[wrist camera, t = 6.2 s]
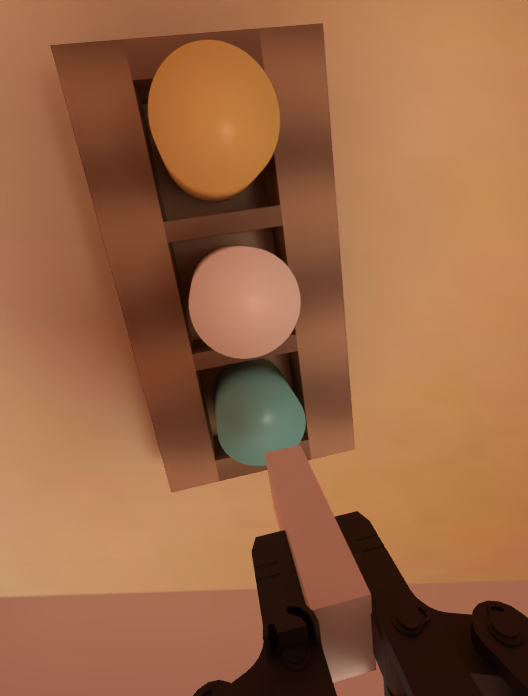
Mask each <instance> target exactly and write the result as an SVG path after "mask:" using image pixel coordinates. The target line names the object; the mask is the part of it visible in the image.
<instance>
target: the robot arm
mask: <svg viewBox="0 0 528 696" xmlns="http://www.w3.org/2000/svg"><path fill="white" fill-rule="evenodd" d="M265 457H266V463H267V469H268V475H269V481H270V487H271V493H272V499H273V505H274V509H275V513H276V517H277V521H278V524H279V528H280V531H279V532H275V533H271V534H267V535H263V536H259V537H256V538H255V542H254V545H253V549H252V558H253V564H254V571H255V577H256V583H257V590H258V596H259V603H260V609H261V615H262V621H263V640H264V643H263V649H262V651H261V654H260V656H259V658H258V659H257V661H256V662H255V664H254V665H253V666H252V667H251V668H250V669H249V670H248V671H247V672H246V673H244V674H243V675H242V676H240V677H239V678H238V679H236V680H235V681H234V682H232V683H229V682H226V681H222V680H217V681H212V682H208V683H207V684H205V685H204V686H202V687H201V688H200V689H198V690H197V691H196V693H195V694H194V695H193V696H337V695H336V691H335V688H334V684H333V682H336V681H340V680H343V679H346V678H350V677H353V676H356V675H359V674H363V673H366V672H370V671H373V670H376V663H375V658H376V661H377V663H378V666H379V668H380V670H381V673H382V675H383V678H384V695H385V696H528V618H527V617H526V616H525V615H523V614H522V613H520V612H519V611H518V610H516V609H515V608H513V607H512V606H509V605H507V604H504V603H502V602H498V601H485V602H482V603H479V604H478V605H477V606H476V607H475V608H474V610H473V613H472V615H470V614H456V613H447V612H441V611H437V610H435V609H433V608H430V607H428V606H427V605H425V604H424V603H423V602H421V601H420V600H419V599H418V598H417V597H415V596H414V594H413V593H412V591H411V590H410V589H409V587H408V585H407V583H406V582H405V580H404V578H403V577H402V575H401V573H400V572H399V570H398V568H397V567H396V565H395V563H394V561H393V560H392V558H391V556H390V555H389V553H388V551H387V550H386V548H385V547H384V544H383V543H382V541H381V539H380V538H379V537H378V534H377V533H376V531H375V529H374V528H373V526H372V524H371V522H370V521H369V520H368V519H366V518H365V517H364V516H363V515H361V514H360V513H359V512H358V511H356V512H352V513H348V514H344V515H340V516H336V517H334V515H333V513H332V511H331V509H330V507H329V504H328V502H327V500H326V498H325V496H324V494H323V492H322V490H321V488H320V485H319V483H318V481H317V479H316V477H315V475H314V473H313V471H312V468H311V466H310V464H309V462H308V460H307V458H306V456H305V454H304V452H303V449H302V447H301V445H298V446H293V447H289V448H284V449H280V450H275V451H271V452H266V453H265Z"/></svg>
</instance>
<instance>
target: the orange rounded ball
mask: <svg viewBox="0 0 528 696" xmlns="http://www.w3.org/2000/svg"><path fill="white" fill-rule="evenodd" d="M148 118H149V124H150V129H151V132H152V136H153V138H154V141H155V143H156V146H157V148H158V150H159V153H160V155H161V157H162V159H163V162H164V164H165V166H166V169H167V171H168V173H169V174H170V176H171V178H172V179H173V181H174V182H175V183H176V184H177V185H178V187H179V188H180V189H182V190H183V191H184V192H185V193H187V194H188V195H190V196H191V197H193V198H195V199H198V200H201V201H205V202H213V203H215V202H223V201H227V200H230V199H232V198H234V197H236V196H238V195H239V194H240V193H242V192H243V191H244V190H245V189H246V188H247V187H248V186H249V184H250V183H251V182H252V181H253V180H254V179H255V178H256V177H257V176H258V175H259V173H260V172H261V171H262V170H263V169H264V168H265V166H266V165H267V164H268V162H269V160H270V159H271V157H272V155H273V153H274V150H275V148H276V145H277V141H278V137H279V131H280V111H279V106H278V101H277V97H276V94H275V91H274V88H273V86H272V84H271V82H270V80H269V78H268V76H267V75H266V73H265V72H264V70H263V69H262V68H261V66H260V65H259V64H258V63H257V62H256V61H255V60H254V59H253V58H252V57H251V56H250V55H249V54H247V53H246V52H244V51H243V50H241V49H240V48H238V47H236V46H234V45H232V44H229V43H226V42H223V41H217V40H199V41H194V42H191V43H188V44H185V45H183V46H181V47H180V48H178V49H176V50H175V51H174V52H172V53H171V54H170V55H169V56H168V57H167V58H166V59H165V60H164V61H163V63H162V64H161V66H160V67H159V68H158V70H157V72H156V74H155V76H154V79H153V81H152V84H151V88H150V92H149V99H148Z"/></svg>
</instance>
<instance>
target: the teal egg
mask: <svg viewBox="0 0 528 696" xmlns="http://www.w3.org/2000/svg"><path fill="white" fill-rule="evenodd" d="M213 394H214V404H215V414H216V424H217V433H218V439H219V442H220V444H221V446H222V448H223V450H224V451H225V452H226V453H227V454H228V455H229V456H230V457H231V458H232V459H234V460H236V461H237V462H240V463H242V464H245V465H250V466H265V465H267V463H266V457H265V453H266V452H271V451H275V450H280V449H284V448H289V447H293V446H298V444H299V443H300V441H301V439H302V437H303V434H304V431H305V425H306V419H305V413H304V410H303V407H302V406H301V404H300V402H299V400H298V399H297V397H296V396H295V394H294V392H293V391H292V389H291V388H290V386H289V384H288V383H287V381H286V380H285V378H284V376H283V375H282V373H281V372H280V370H279V369H278V368H277V367H276V366H275V365H274V364H273V363H272V362H270V361H269V360H267V359H264V358H259V359H254V360H249V361H244V362H239V363H233V364H228V365H226V366H225V367H224V368H223V369H222V370H221V371H220V373H219V374H218V376H217V378H216V380H215V384H214V390H213Z"/></svg>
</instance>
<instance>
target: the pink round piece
mask: <svg viewBox="0 0 528 696" xmlns="http://www.w3.org/2000/svg"><path fill="white" fill-rule="evenodd" d="M300 305H301V300H300V291H299V287H298V284H297V281H296V279H295V277H294V275H293V273H292V272H291V270H290V269H289V267H288V266H287V265H286V264H285V263H284V262H283V261H282V260H281V259H280V258H278V257H277V256H275V255H274V254H272V253H270V252H268V251H265V250H262V249H259V248H254V247H247V246H237V245H231V246H224V247H221V248H218V249H216V250H214V251H212V252H210V253H209V254H208V255H206V256H205V257H204V258H203V259H202V260H201V262H200V263H199V264H198V266H197V267H196V269H195V272H194V274H193V278H192V282H191V288H190V295H189V312H190V317H191V321H192V324H193V326H194V328H195V330H196V332H197V333H198V335H199V336H200V338H201V339H202V340H203V341H204V342H205V343H206V344H207V345H208V346H209V347H211V348H212V349H213V350H215V351H217V352H218V353H220V354H223V355H225V356H228V357H232V358H239V359H249V358H255V357H259V356H263V355H265V354H268V353H269V352H271V351H273V350H275V349H276V348H278V347H279V346H280V345H281V344H282V343H283V342H284V341H285V340H286V339H287V338H288V337H289V336H290V334H291V333H292V331H293V329H294V327H295V325H296V323H297V320H298V317H299V313H300Z"/></svg>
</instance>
